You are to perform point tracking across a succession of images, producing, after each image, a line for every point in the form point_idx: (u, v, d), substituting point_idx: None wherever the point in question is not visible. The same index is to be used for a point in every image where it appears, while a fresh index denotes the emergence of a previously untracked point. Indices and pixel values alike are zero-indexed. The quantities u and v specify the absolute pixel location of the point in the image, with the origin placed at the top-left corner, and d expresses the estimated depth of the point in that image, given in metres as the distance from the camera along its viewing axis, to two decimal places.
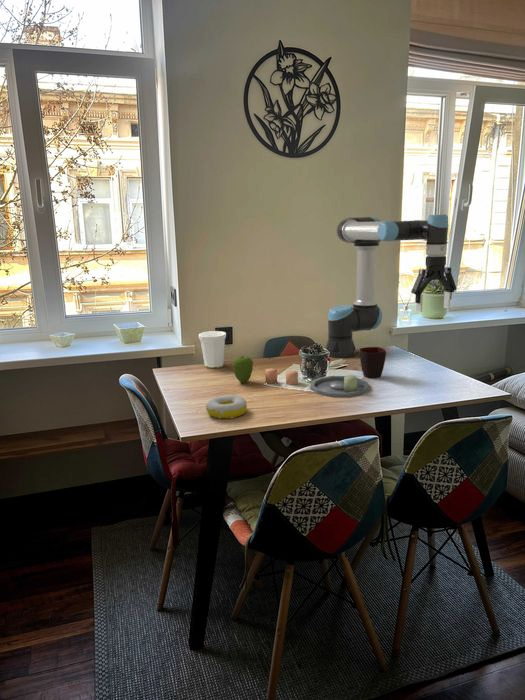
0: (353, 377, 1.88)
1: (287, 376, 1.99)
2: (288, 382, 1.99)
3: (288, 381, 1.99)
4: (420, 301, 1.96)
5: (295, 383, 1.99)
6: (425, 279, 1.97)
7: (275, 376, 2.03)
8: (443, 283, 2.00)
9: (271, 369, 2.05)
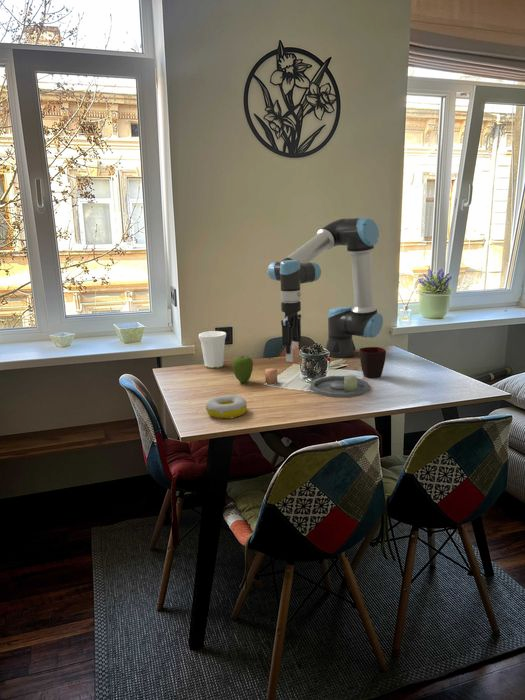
0: (353, 377, 1.88)
1: None
2: None
3: None
4: (291, 351, 1.95)
5: (295, 359, 1.97)
6: None
7: (275, 376, 2.03)
8: (293, 330, 1.98)
9: (271, 369, 2.05)
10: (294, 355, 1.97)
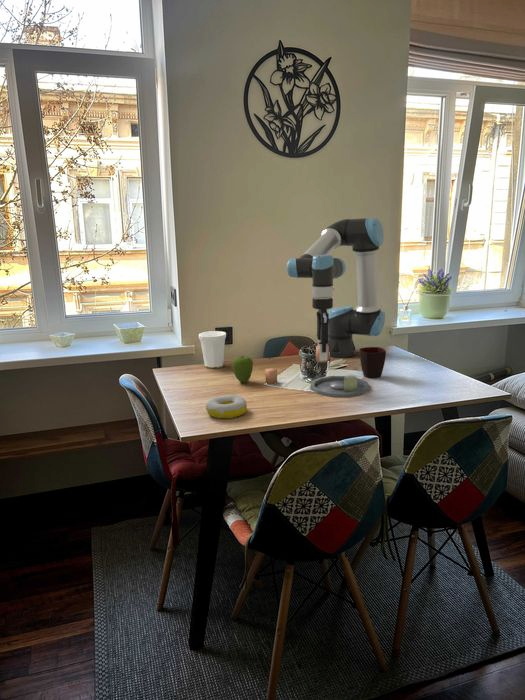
0: (353, 377, 1.88)
1: None
2: None
3: None
4: (326, 350, 1.88)
5: (328, 357, 1.90)
6: None
7: (275, 376, 2.03)
8: None
9: (271, 369, 2.05)
10: (327, 353, 1.89)
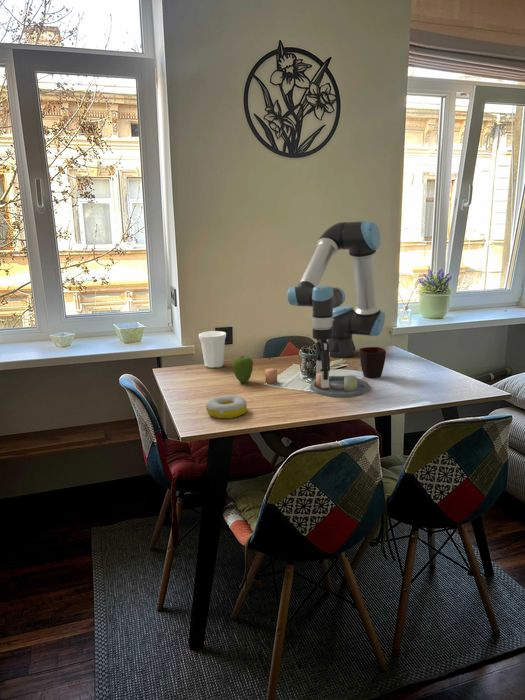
0: (353, 377, 1.88)
1: (320, 379, 1.91)
2: None
3: None
4: (328, 377, 1.86)
5: None
6: None
7: (275, 376, 2.03)
8: None
9: (271, 369, 2.05)
10: None
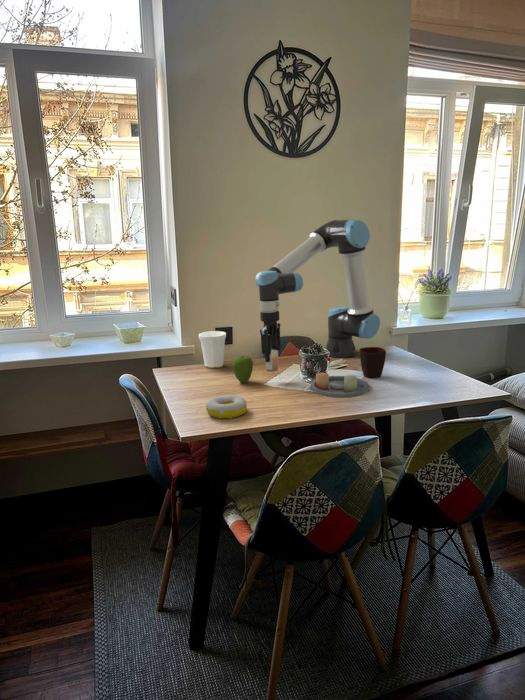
0: (353, 377, 1.88)
1: (320, 379, 1.91)
2: (322, 385, 1.92)
3: (322, 384, 1.92)
4: (270, 360, 2.00)
5: (328, 385, 1.93)
6: None
7: (276, 363, 2.02)
8: (273, 339, 2.03)
9: None
10: (327, 381, 1.92)
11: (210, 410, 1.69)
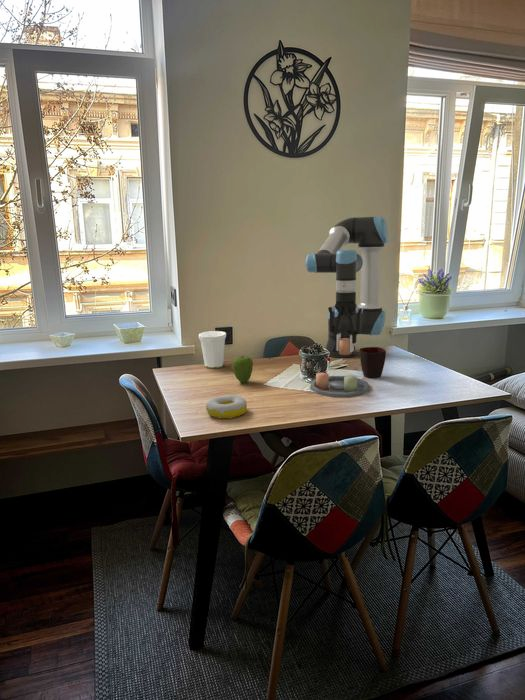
0: (353, 377, 1.88)
1: (320, 379, 1.91)
2: (322, 385, 1.92)
3: (322, 384, 1.92)
4: (336, 340, 1.97)
5: (328, 385, 1.93)
6: None
7: (341, 346, 1.95)
8: None
9: (347, 339, 1.96)
10: (327, 381, 1.92)
11: (210, 410, 1.69)
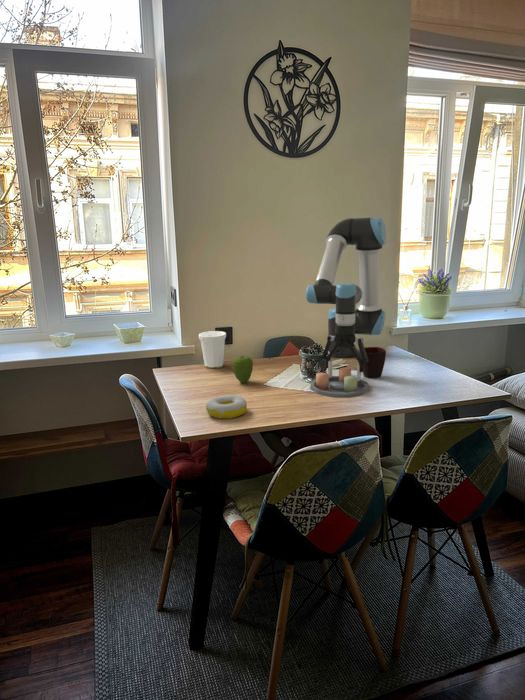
0: (353, 377, 1.88)
1: (320, 379, 1.91)
2: (322, 385, 1.92)
3: (322, 384, 1.92)
4: None
5: (328, 385, 1.93)
6: None
7: (341, 376, 1.98)
8: None
9: (346, 369, 1.99)
10: (327, 381, 1.92)
11: (210, 410, 1.69)
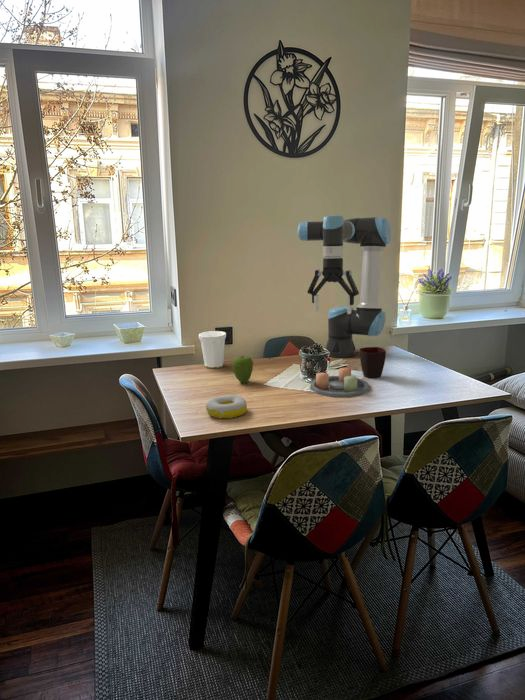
0: (353, 377, 1.88)
1: (320, 379, 1.91)
2: (322, 385, 1.92)
3: (322, 384, 1.92)
4: (314, 301, 1.98)
5: (328, 385, 1.93)
6: None
7: (341, 376, 1.98)
8: None
9: (346, 369, 1.99)
10: (327, 381, 1.92)
11: (210, 410, 1.69)
